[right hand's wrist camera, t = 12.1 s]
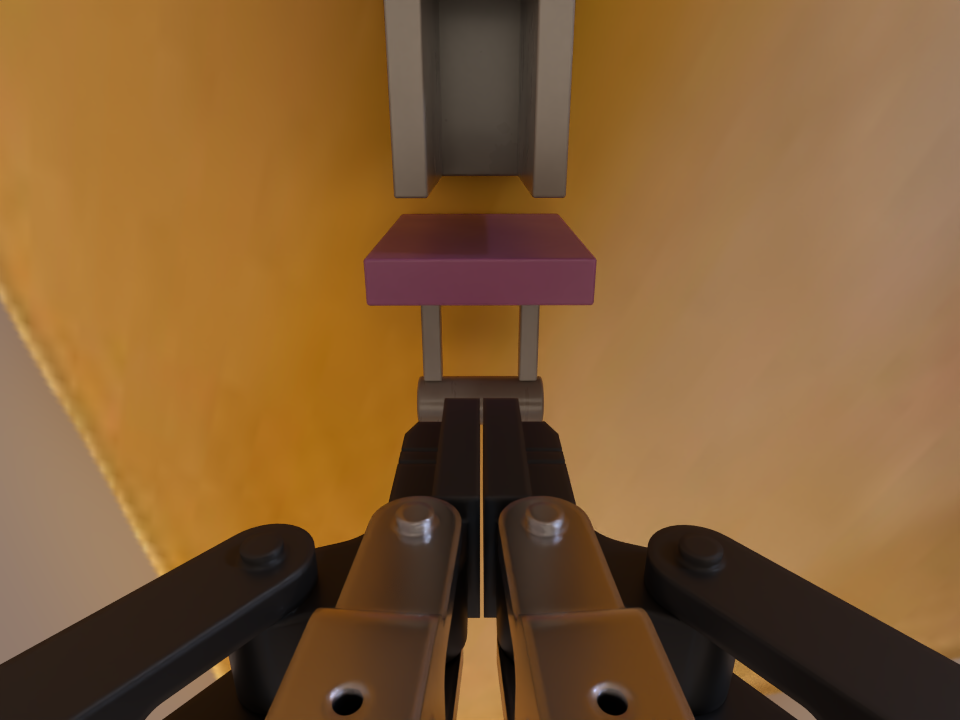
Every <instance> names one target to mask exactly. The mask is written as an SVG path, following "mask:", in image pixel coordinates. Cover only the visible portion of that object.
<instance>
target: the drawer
mask: <svg viewBox="0 0 960 720" xmlns="http://www.w3.org/2000/svg"><path fill="white" fill-rule="evenodd" d="M384 15H385V34H386V53H387V71H388V90H389V109H390V127H391V146H392V165H393V183H394V196H395V198H427V197H428V195H429V194H430V192H431V191H432V190H433V188H434V187H435V185H436V184H437V183H438V181H439V180H440V178H441V177H442V176H518V177H519V178H520V179H521V181H522V182H523V184H524V185H525V186H526V188H527V189H528V191H529V192H530V193H531V195H532V196H533V197H534V198H563V197H565V195H566V179H567V159H568V138H569V118H570V98H571V77H572V57H573V36H574V16H575V0H384ZM364 272H365V285H366V299H367V304H368V305H370V306H384V305H421V321H422V346H423V371H424V376H422V377H420V378H419V381H418V390H417V412H418V420H419V422H442V415H443V407H444V400H445V398H480V425H483V398H518V399H519V406H520V413H521V420H522V421H542V420H543V411H544V393H543V382H542V379H541V377H540V376H537V364H538V336H539V308H540V305H592V304H593V302H594V290H595V275H596V258H595V257H594V256H593V255H592V254H591V252H590V251H589V250H588V249H587V248H586V247H585V245H584V244H583V243H582V242H581V241H580V239H579V238H578V237H577V236H576V235H575V234H574V232H573V231H572V230H571V229H570V228H569V227H568V225H567V224H566V223H565V222H564V221H563V220H562V218H561V217H560V216H559V215H558V214H403V215H401V217H400V218H399V219H398V220H397V221H396V222H395V224H394V225H393V226H392V227H391V228H390V230H389V231H388V232H387V233H386V234H385V235H384V237H383V238H382V239H381V240H380V241H379V243H378V244H377V245H376V246H375V247H374V248H373V250H372V251H371V252H370V253H369V254H368V256H367V257H366V258H365V259H364ZM441 305H519V342H518V376H443V356H442V319H441Z"/></svg>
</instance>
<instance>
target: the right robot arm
mask: <svg viewBox="0 0 960 720" xmlns="http://www.w3.org/2000/svg"><path fill="white" fill-rule="evenodd" d="M483 559H484V618H497V668H498V676H499V684H500V693H501V701H502V709H503V717H504V720H797V719H796V718H795V717H793V716H792V715H790V714H789V713H788V712H786V711H785V710H784V709H782V708H781V707H779V706H778V705H777V704H775V703H774V702H773V701H771V700H770V699H768V698H767V697H766V696H764V695H763V694H762V693H760V692H759V691H757V690H756V689H755V688H753V687H752V686H751V685H749V684H748V683H746V682H745V681H744V680H742V679H741V678H740V677H738V676H737V675H735V674H734V673H733V668H734V663H735V659H737V660H738V661H740V662H741V663H742V664H744V665H745V666H747V667H748V668H749V669H751V670H752V671H754V672H755V673H757V674H758V675H759V676H761V677H762V678H764V679H765V680H766V681H768V682H769V683H771V684H772V685H774V686H775V687H776V688H778V689H779V690H781V691H782V692H784V693H785V694H786V695H788V696H789V697H791V698H792V699H793V700H795V701H796V702H798V703H799V704H801V705H802V706H803V707H804V708H806V709H807V710H808V711H809V712H810V713H811V714H812V715H813V716H814V717H815V718H816V719H817V720H960V664H958V663H956V662H954V661H952V660H950V659H949V658H947V657H945V656H943V655H941V654H940V653H938V652H936V651H934V650H932V649H930V648H929V647H927V646H925V645H923V644H921V643H920V642H918V641H916V640H914V639H912V638H910V637H909V636H907V635H905V634H903V633H901V632H900V631H898V630H896V629H894V628H892V627H891V626H889V625H887V624H885V623H883V622H881V621H880V620H878V619H876V618H874V617H872V616H871V615H869V614H867V613H865V612H863V611H861V610H860V609H858V608H856V607H854V606H852V605H851V604H849V603H847V602H845V601H843V600H841V599H840V598H838V597H836V596H834V595H832V594H831V593H829V592H827V591H825V590H823V589H821V588H820V587H818V586H816V585H814V584H812V583H811V582H809V581H807V580H805V579H803V578H802V577H800V576H798V575H796V574H794V573H792V572H791V571H789V570H787V569H785V568H783V567H782V566H780V565H778V564H776V563H774V562H772V561H771V560H769V559H767V558H765V557H763V556H762V555H760V554H758V553H756V552H754V551H752V550H751V549H749V548H747V547H745V546H743V545H742V544H740V543H738V542H736V541H734V540H732V539H731V538H729V537H727V536H725V535H723V534H721V533H719V532H716V531H713V530H711V529H707V528H704V527H699V526H692V525H676V526H669V527H666V528H663V529H661V530H659V531H657V532H656V533H655V534H654V535H653V536H652V537H651V538H650V540H649V543H648V548H647V547H642V546H638V545H633V544H629V543H624V542H620V541H617V540H613V539H611V538H608V537H606V536H604V535H602V534H600V533H598V532H596V531H595V530H594V529H593V526H592V524H591V521H590V519H589V517H588V516H587V514H586V513H585V512H584V511H583V510H582V509H581V508H579V507H578V506H576V503H575V499H574V495H573V491H572V487H571V483H570V479H569V475H568V471H567V467H566V464H565V459H564V455H563V451H562V447H561V443H560V439H559V435H558V433H557V432H555V431H554V430H553V429H552V428H551V427H550V426H549V425H548V424H547V423H546V422H545V421H522V420H521V413H520V406H519V399H518V398H483ZM468 618H480V398H445V400H444V407H443V415H442V422H418V423H416V424H415V425H414V426H413V427H412V428H411V429H410V430H409V431H408V432H407V433H406V434H405V437H404V441H403V445H402V452H401V453H400V457H399V464H398V466H397V470H396V474H395V478H394V482H393V486H392V490H391V495H390V499H389V503H387V504H385V505H384V506H382V507H381V508H379V509H378V510H377V511H376V512H375V513H374V514H373V516H372V517H371V519H370V521H369V524H368V526H367V529H366V531H365V534H363V535H361V536H359V537H357V538H354V539H351V540H349V541H345V542H341V543H337V544H332V545H328V546H323V547H319V548H315V545H314V541H313V538H312V537H311V535H310V534H309V533H308V532H307V531H305V530H304V529H302V528H300V527H297V526H294V525H288V524H268V525H262V526H258V527H254V528H251V529H248V530H245V531H243V532H241V533H239V534H237V535H235V536H233V537H231V538H229V539H228V540H226V541H224V542H222V543H220V544H218V545H217V546H215V547H213V548H211V549H209V550H208V551H206V552H204V553H202V554H200V555H198V556H197V557H195V558H193V559H191V560H189V561H188V562H186V563H184V564H182V565H180V566H178V567H177V568H175V569H173V570H171V571H169V572H168V573H166V574H164V575H162V576H160V577H159V578H157V579H155V580H153V581H151V582H149V583H148V584H146V585H144V586H142V587H140V588H139V589H137V590H135V591H133V592H131V593H129V594H128V595H126V596H124V597H122V598H120V599H119V600H117V601H115V602H113V603H111V604H110V605H108V606H106V607H104V608H102V609H100V610H99V611H97V612H95V613H93V614H91V615H90V616H88V617H86V618H84V619H82V620H81V621H79V622H77V623H75V624H73V625H71V626H70V627H68V628H66V629H64V630H62V631H60V632H59V633H57V634H55V635H53V636H51V637H50V638H48V639H46V640H44V641H42V642H41V643H39V644H37V645H35V646H33V647H31V648H30V649H28V650H26V651H24V652H22V653H21V654H19V655H17V656H15V657H13V658H11V659H10V660H8V661H6V662H4V663H2V664H1V665H0V720H145V719H146V718H147V716H148V715H149V714H150V713H151V712H152V711H153V710H154V709H155V708H156V707H157V706H159V705H160V704H161V703H162V702H164V701H165V700H167V699H168V698H169V697H171V696H172V695H174V694H175V693H177V692H178V691H179V690H181V689H182V688H184V687H185V686H186V685H188V684H189V683H191V682H192V681H194V680H195V679H196V678H198V677H199V676H201V675H202V674H203V673H205V672H206V671H208V670H209V669H211V668H212V667H213V666H215V665H216V664H218V663H219V662H220V661H222V660H223V659H225V658H226V657H228V656H229V660H230V665H231V669H232V670H230V671H229V672H227V673H226V674H225V675H223V676H222V677H220V678H219V679H218V680H216V681H215V682H214V683H212V684H211V685H209V686H208V687H207V688H205V689H204V690H203V691H201V692H200V693H198V694H197V695H196V696H194V697H193V698H192V699H190V700H189V701H188V702H186V703H185V704H183V705H182V706H181V707H179V708H178V709H177V710H175V711H174V712H172V713H171V714H170V715H168V716H167V717H165V718H164V719H163V720H456V717H457V709H458V701H459V693H460V684H461V676H462V668H463V647H464V645H465V642H466V639H467V621H468Z"/></svg>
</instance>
